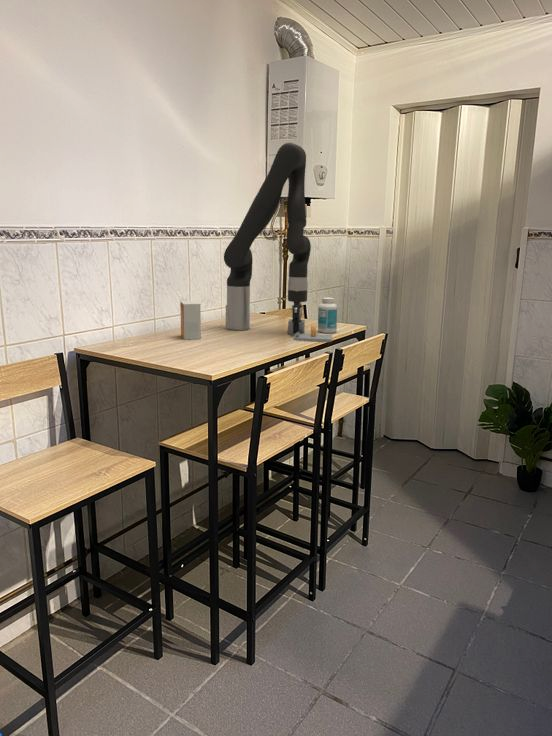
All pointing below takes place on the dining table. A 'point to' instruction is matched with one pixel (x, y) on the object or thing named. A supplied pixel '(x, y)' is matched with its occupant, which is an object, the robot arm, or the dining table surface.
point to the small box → (190, 320)
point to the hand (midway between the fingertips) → (296, 331)
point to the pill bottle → (327, 316)
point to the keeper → (313, 336)
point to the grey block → (301, 326)
